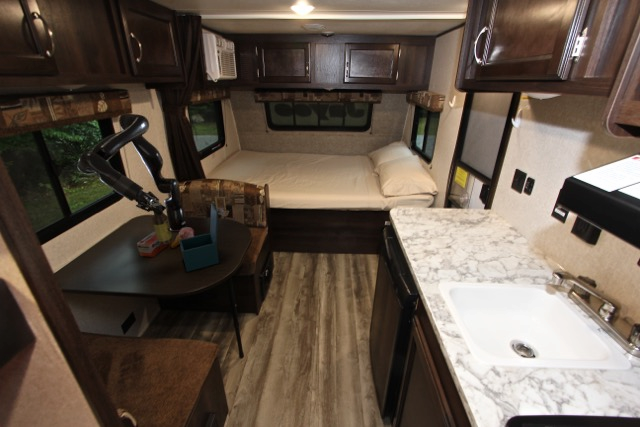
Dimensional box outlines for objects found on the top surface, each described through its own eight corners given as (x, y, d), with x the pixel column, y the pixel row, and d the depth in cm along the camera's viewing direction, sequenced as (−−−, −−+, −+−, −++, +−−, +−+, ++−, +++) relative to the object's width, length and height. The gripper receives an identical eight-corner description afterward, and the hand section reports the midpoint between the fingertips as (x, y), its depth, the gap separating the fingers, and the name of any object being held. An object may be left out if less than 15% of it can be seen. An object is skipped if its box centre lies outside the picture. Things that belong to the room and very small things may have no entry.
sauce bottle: (173, 242, 141) (165, 205, 132) (159, 246, 137) (149, 208, 128) (171, 237, 145) (162, 200, 136) (157, 240, 142) (147, 203, 133)
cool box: (186, 271, 145) (182, 251, 140) (183, 259, 155) (179, 239, 150) (219, 263, 152) (216, 243, 147) (213, 251, 162) (210, 232, 157)
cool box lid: (216, 212, 141) (227, 212, 144) (211, 203, 151) (221, 203, 154) (215, 242, 147) (225, 241, 150) (209, 232, 157) (220, 231, 160)
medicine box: (157, 242, 171) (154, 230, 167) (170, 243, 170) (167, 231, 166) (139, 256, 157) (136, 243, 154) (153, 257, 156) (150, 244, 153)
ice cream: (175, 251, 159) (197, 233, 165) (163, 239, 160) (186, 221, 166) (180, 256, 169) (201, 238, 175) (169, 244, 170) (190, 227, 176)
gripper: (125, 188, 121) (163, 212, 128) (139, 177, 133) (172, 200, 140) (115, 200, 122) (153, 224, 129) (129, 188, 135) (163, 210, 142)
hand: (163, 211), depth 135 cm, fingers closed on sauce bottle, 4 cm apart
